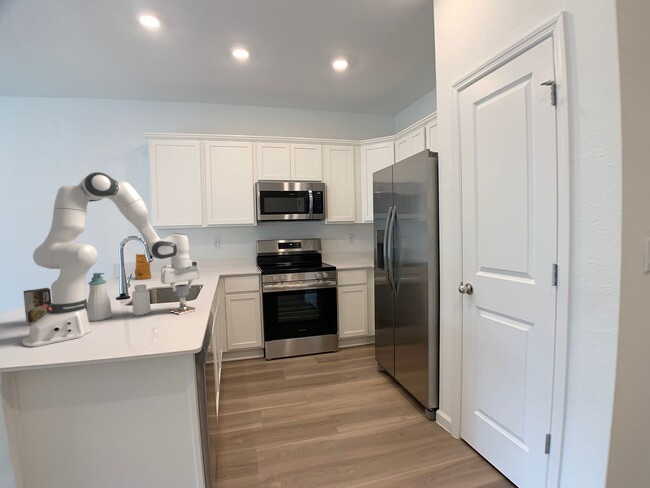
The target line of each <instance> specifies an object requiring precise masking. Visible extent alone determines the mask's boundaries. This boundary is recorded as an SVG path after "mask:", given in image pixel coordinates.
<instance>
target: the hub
mask: <svg viewBox="0 0 650 488" xmlns="http://www.w3.org/2000/svg"><path fill="white" fill-rule="evenodd" d="M174 286H175V287H176V288H177V291H174V296H175V297H179V296H185V297H186V296H188V295H189V293H190V291H189V288H188V284H185V283H184V284H175V285H174Z"/></svg>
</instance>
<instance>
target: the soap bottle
mask: <svg viewBox="0 0 650 488" xmlns="http://www.w3.org/2000/svg"><path fill="white" fill-rule="evenodd" d="M92 275H93V276H92V277H91V281H89V282H88V285H89V294H88V298H87V299H88V300H87V307H88V309H87V316H88V320H89V322H96V321H97V322H99V321H103V320H104V321H105V320H107V319H109V318H111V317H112V304H111V300H110V296H109V294H108V292H107V287H106V286H107V280H104V277H103V276H102V275H105V272H94V273H93V274H92Z"/></svg>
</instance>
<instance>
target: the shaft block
mask: <svg viewBox="0 0 650 488" xmlns="http://www.w3.org/2000/svg"><path fill="white" fill-rule="evenodd" d="M178 297H179V306H178V307H175V308H171V309H170V310H169V312H170V311H174V312H178V313H181V312H185V311H189V310H194V309H196V307H193V306H189V305H186V301H187V300H186V295H185V296H178Z"/></svg>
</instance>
